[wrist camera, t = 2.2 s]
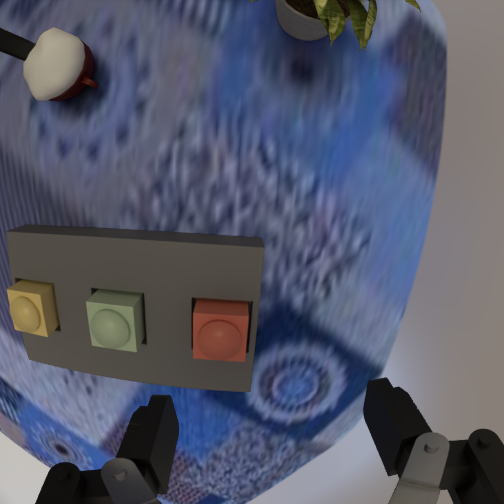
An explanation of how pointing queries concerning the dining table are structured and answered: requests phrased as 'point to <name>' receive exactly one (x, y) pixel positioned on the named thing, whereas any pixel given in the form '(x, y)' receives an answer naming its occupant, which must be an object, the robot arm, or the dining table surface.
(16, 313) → the ochre button
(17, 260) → the panel
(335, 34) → the house plant
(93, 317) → the sage button
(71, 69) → the cocoa
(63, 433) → the dining table surface
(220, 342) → the red button
